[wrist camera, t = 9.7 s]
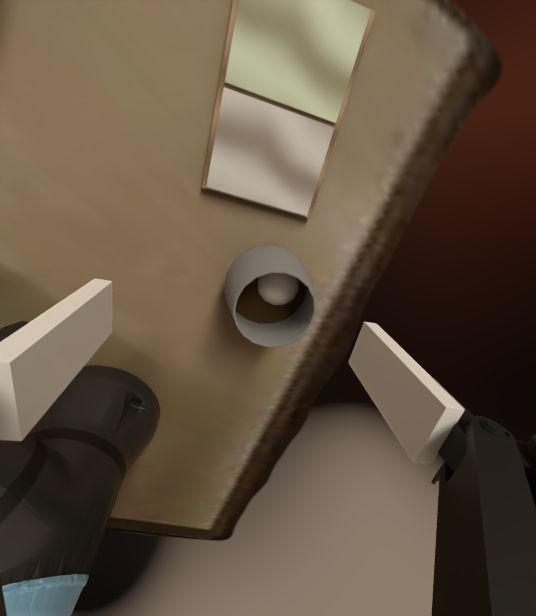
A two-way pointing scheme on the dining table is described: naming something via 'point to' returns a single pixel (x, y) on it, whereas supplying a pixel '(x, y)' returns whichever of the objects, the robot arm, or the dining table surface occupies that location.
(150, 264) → the dining table surface
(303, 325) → the cup
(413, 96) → the dining table surface
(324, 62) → the green and white board
